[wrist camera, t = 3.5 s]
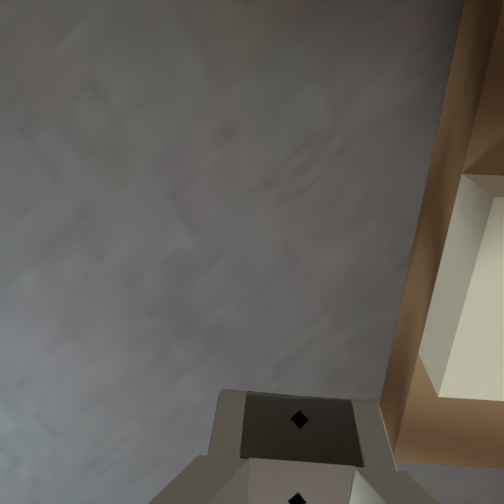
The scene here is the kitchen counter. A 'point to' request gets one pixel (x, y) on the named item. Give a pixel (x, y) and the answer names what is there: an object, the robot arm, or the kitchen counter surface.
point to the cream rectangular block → (469, 297)
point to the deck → (430, 252)
